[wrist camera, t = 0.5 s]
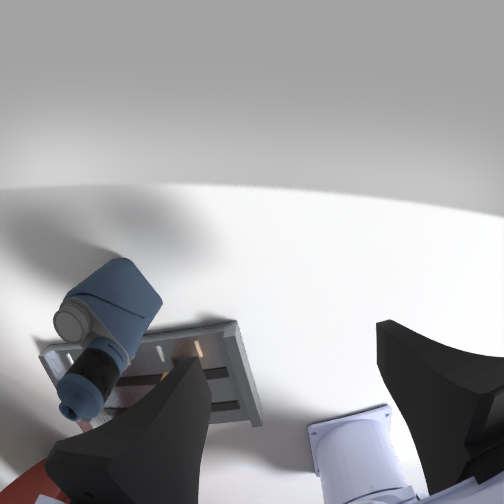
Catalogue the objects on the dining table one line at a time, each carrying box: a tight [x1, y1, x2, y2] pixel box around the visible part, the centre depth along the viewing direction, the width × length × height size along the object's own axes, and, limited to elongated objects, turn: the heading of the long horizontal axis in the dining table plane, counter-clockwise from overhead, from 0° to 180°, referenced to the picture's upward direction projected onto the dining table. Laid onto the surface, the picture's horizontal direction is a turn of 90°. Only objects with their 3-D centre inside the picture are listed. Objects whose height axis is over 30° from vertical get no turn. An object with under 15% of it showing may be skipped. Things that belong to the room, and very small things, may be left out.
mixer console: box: [38, 321, 262, 433], centre depth 22 cm, size 9×18×4 cm, turn 103°
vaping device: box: [53, 259, 163, 421], centre depth 16 cm, size 3×5×12 cm, turn 35°
